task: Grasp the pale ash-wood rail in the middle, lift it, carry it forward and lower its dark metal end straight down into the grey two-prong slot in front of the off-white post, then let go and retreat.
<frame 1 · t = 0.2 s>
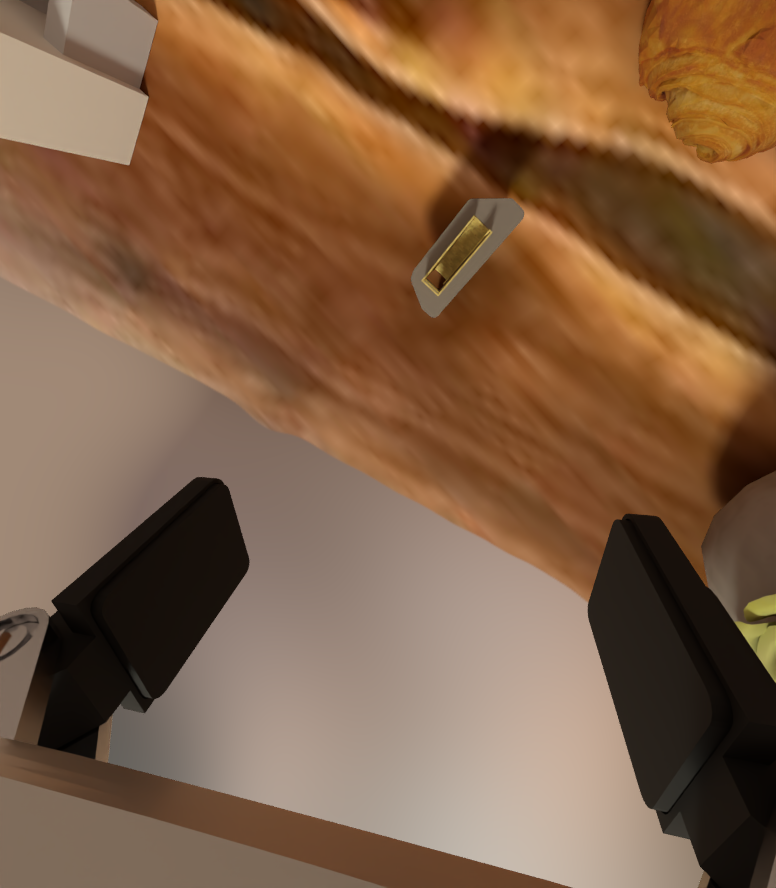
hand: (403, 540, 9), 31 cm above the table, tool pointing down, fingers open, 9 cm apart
croissant: (761, 6, 24), on the table
post: (89, 89, 33), on the table
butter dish: (461, 251, 34), on the table
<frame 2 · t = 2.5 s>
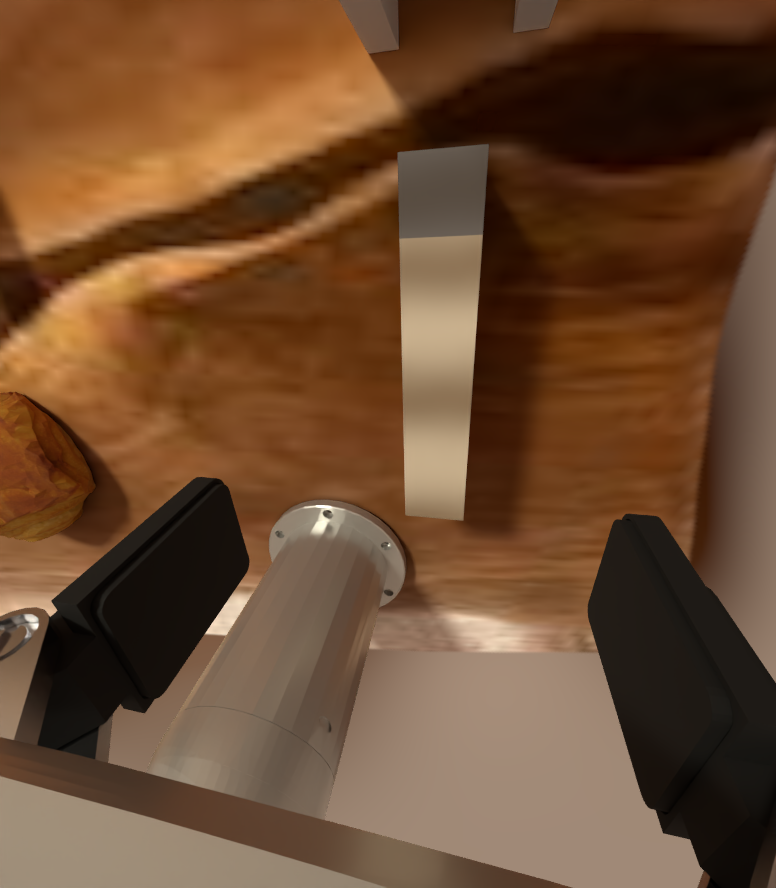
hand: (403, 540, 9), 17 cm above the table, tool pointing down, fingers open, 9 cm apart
croissant: (37, 453, 37), on the table
rail: (444, 345, 24), on the table
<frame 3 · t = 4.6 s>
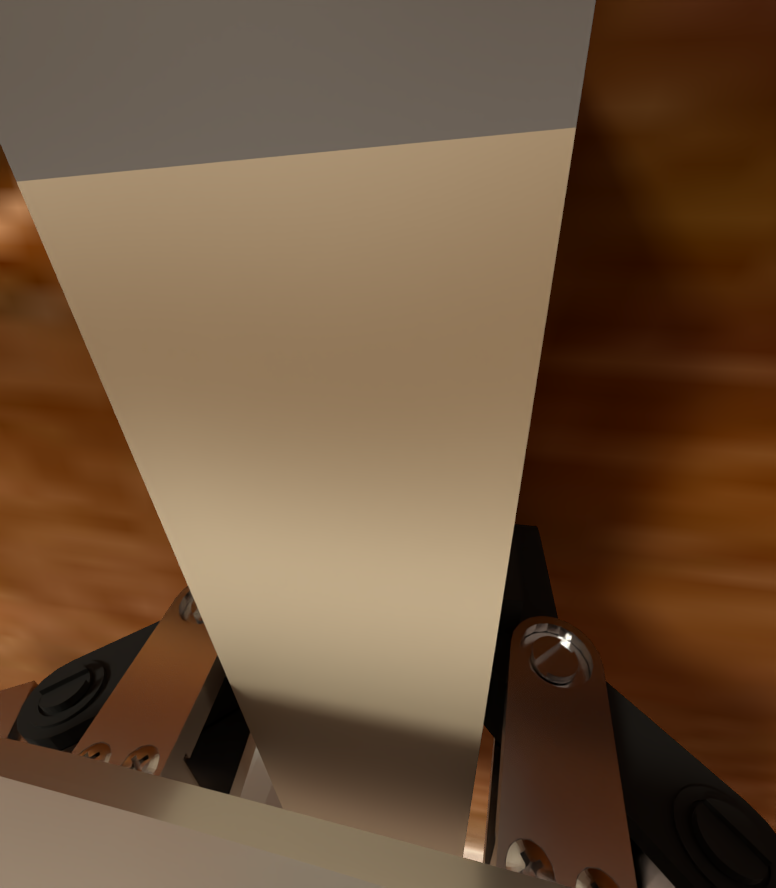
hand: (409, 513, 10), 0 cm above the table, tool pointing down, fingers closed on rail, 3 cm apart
rail: (413, 471, 10), on the table, touching gripper
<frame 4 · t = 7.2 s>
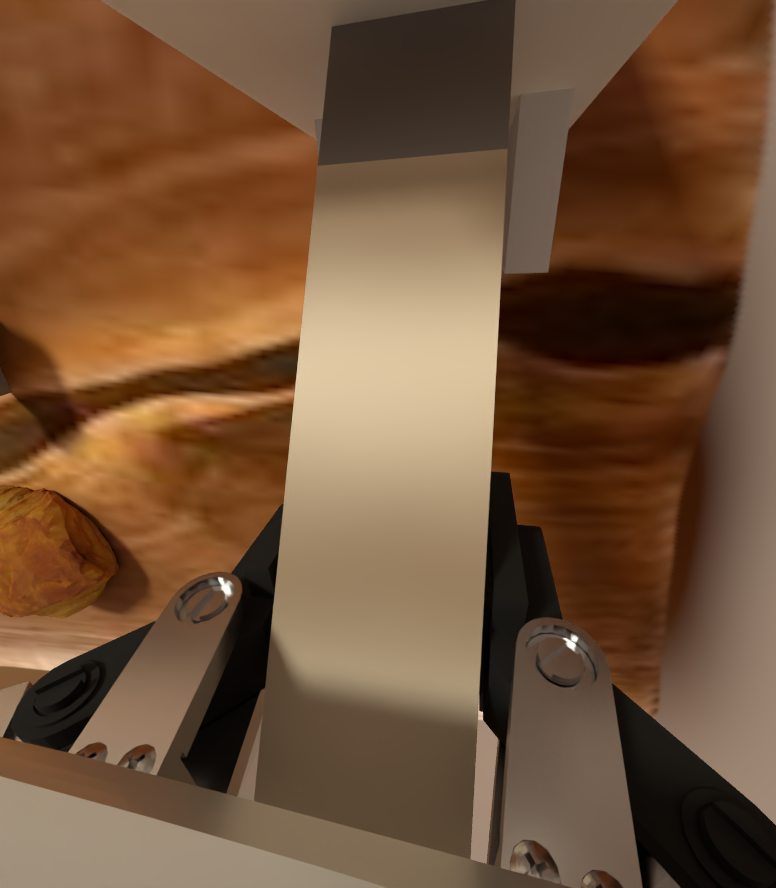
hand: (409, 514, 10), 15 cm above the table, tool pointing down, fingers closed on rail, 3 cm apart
croissant: (65, 536, 40), on the table
rail: (419, 485, 12), point 13 cm above the table, tilted 34°, touching gripper, post
post: (450, 65, 17), on the table
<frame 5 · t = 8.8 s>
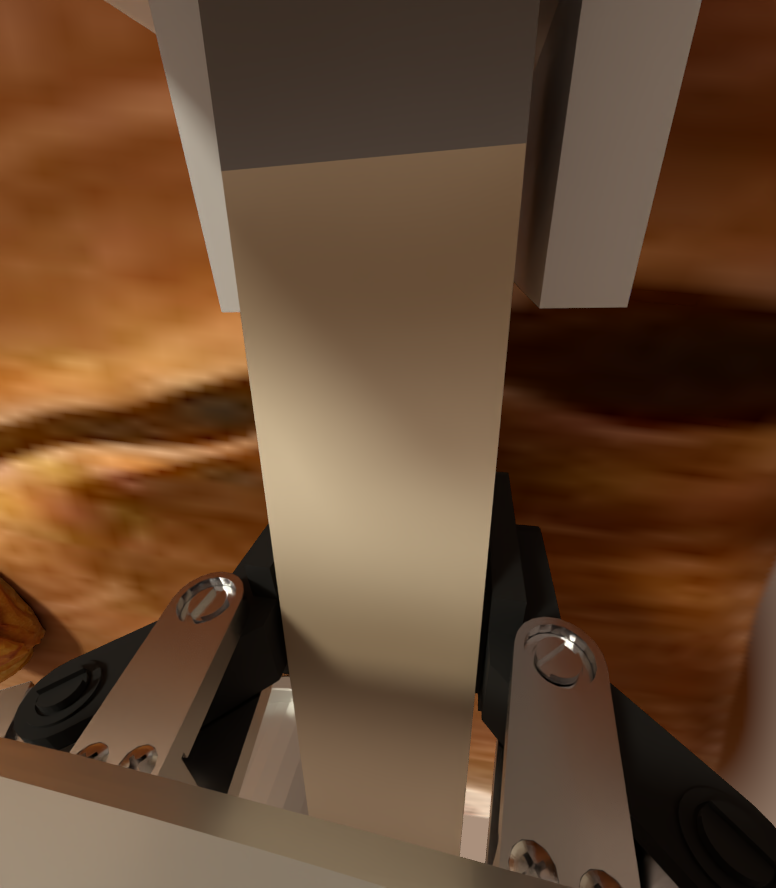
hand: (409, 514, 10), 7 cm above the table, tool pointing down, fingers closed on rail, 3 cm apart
rail: (419, 458, 12), point 5 cm above the table, tilted 8°, touching gripper, post
when the fingers open (2 cm above the table, at t = 10.1 s): rail stays where it is, on the table.
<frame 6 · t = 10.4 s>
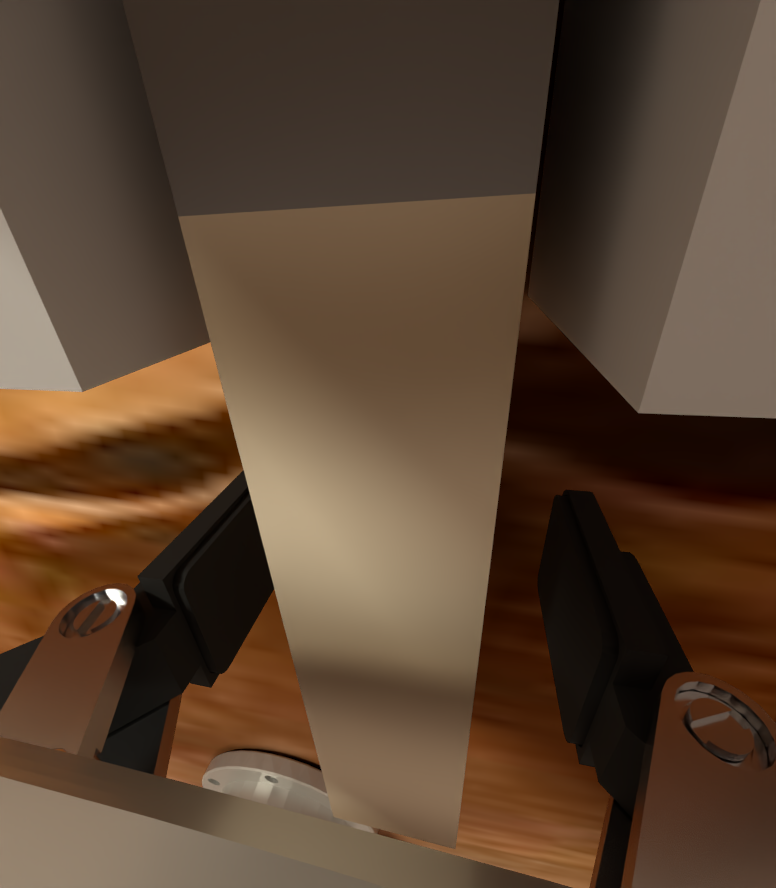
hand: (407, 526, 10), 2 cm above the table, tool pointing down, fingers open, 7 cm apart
rail: (419, 451, 12), on the table
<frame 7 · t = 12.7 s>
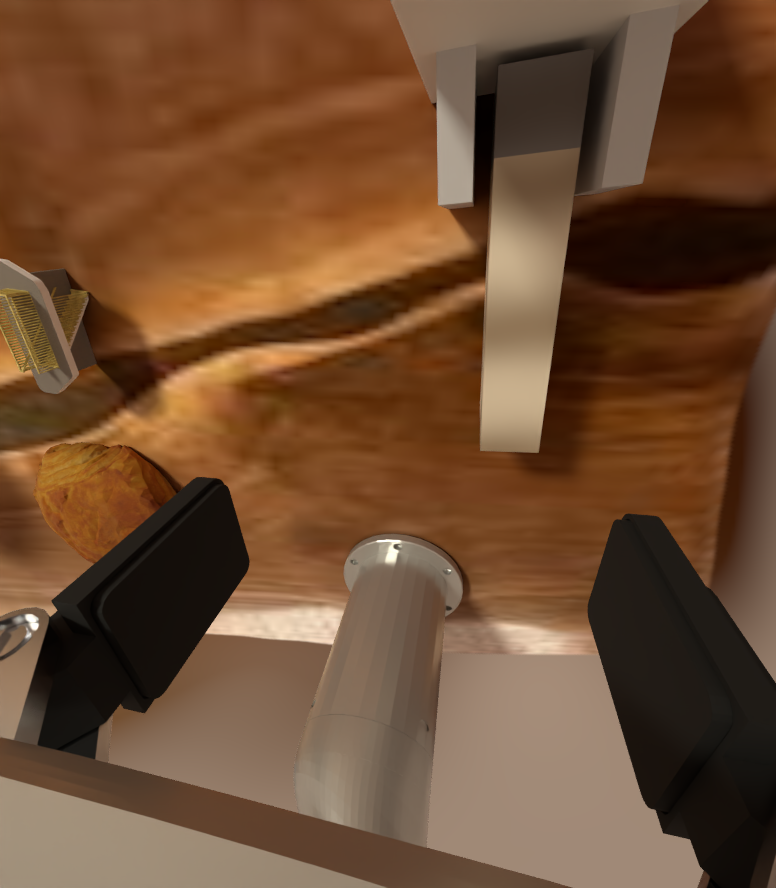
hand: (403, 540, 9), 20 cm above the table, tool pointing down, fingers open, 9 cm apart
croissant: (135, 491, 43), on the table
rail: (513, 283, 24), on the table
post: (534, 3, 18), on the table
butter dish: (95, 318, 33), on the table
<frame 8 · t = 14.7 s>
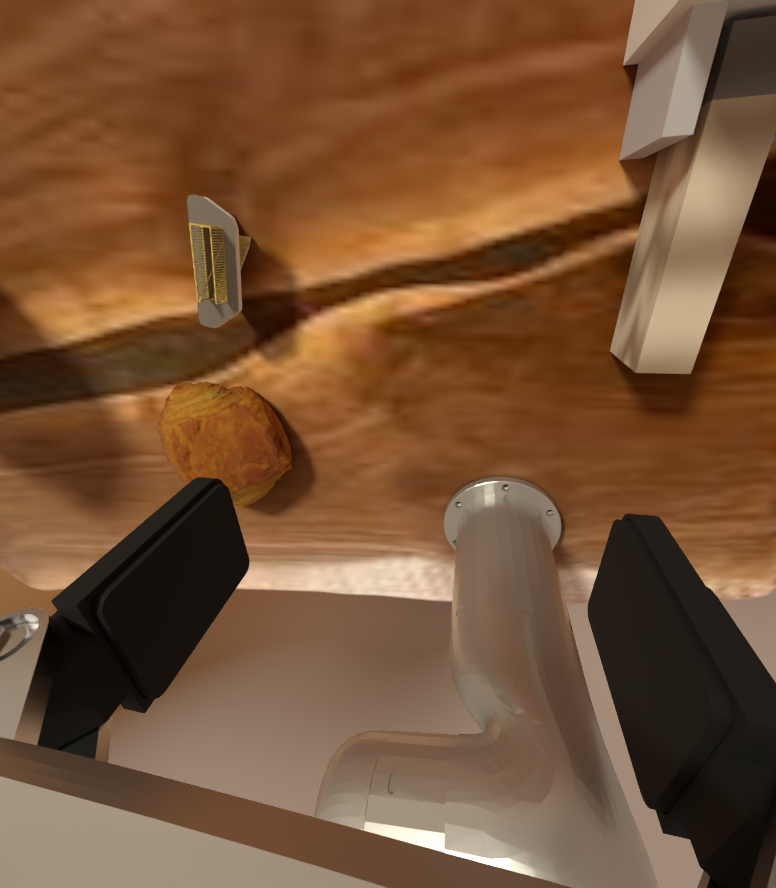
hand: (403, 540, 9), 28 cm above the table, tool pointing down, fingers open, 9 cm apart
croissant: (241, 436, 45), on the table
rail: (665, 230, 28), on the table
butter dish: (248, 265, 36), on the table
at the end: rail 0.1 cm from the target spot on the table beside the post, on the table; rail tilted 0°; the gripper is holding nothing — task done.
